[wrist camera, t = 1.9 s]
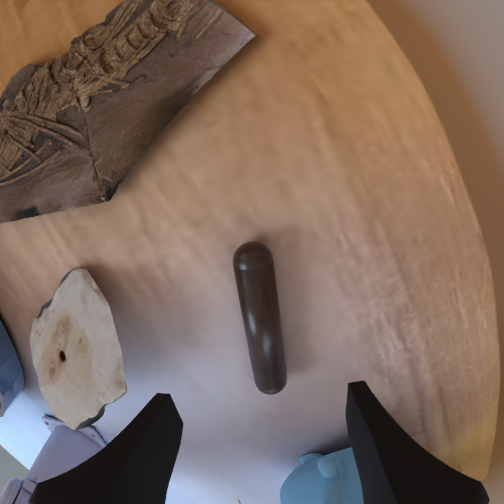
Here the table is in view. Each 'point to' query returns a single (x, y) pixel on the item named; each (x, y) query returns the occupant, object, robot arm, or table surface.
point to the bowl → (9, 373)
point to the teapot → (324, 480)
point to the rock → (77, 352)
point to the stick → (261, 315)
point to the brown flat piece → (106, 101)
